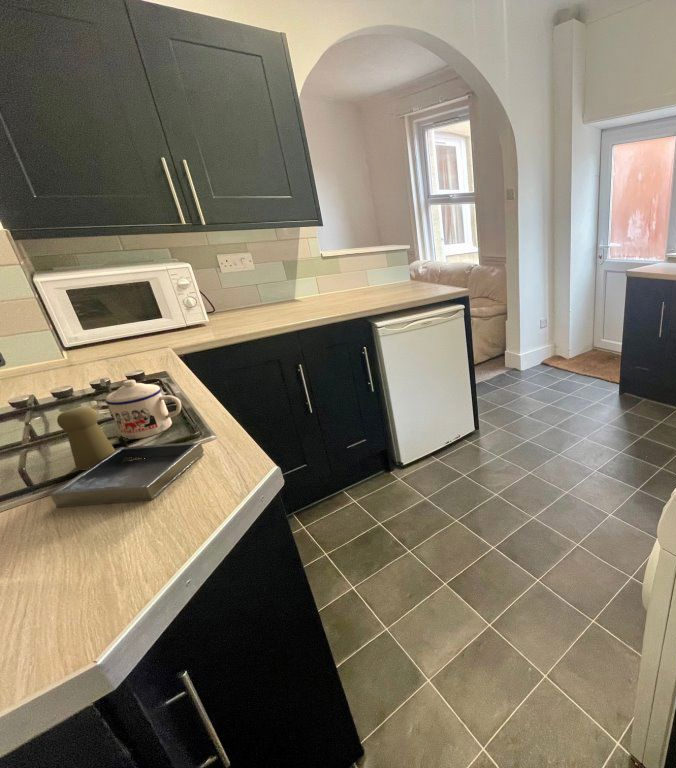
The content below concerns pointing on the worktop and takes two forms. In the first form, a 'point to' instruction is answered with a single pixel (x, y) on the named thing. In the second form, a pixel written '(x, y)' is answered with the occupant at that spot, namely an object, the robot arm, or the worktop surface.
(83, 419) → the cork
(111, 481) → the dark grey square tray
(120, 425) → the teacup with lid
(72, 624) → the worktop surface
